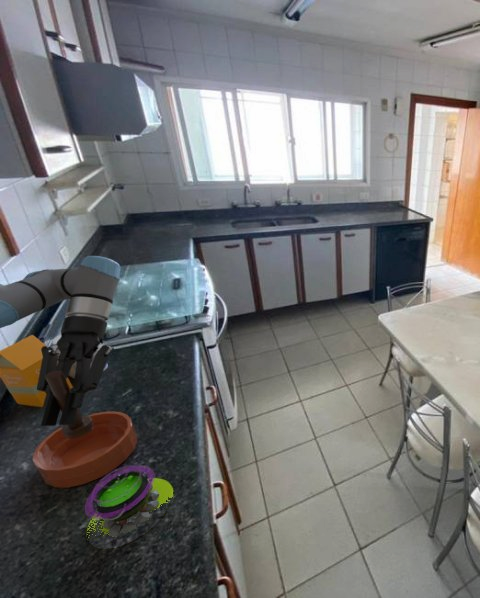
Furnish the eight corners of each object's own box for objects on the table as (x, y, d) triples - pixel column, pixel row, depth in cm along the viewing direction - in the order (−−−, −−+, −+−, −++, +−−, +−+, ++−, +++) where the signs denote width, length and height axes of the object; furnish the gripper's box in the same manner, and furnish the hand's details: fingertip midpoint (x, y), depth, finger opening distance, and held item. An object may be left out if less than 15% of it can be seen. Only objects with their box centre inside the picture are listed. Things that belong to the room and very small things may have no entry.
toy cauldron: (83, 509, 71) (61, 476, 66) (164, 466, 80) (151, 435, 75) (90, 569, 61) (65, 535, 56) (182, 512, 71) (167, 479, 66)
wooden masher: (65, 428, 76) (38, 371, 69) (94, 418, 79) (71, 364, 72) (63, 442, 72) (34, 384, 66) (93, 432, 75) (69, 376, 69)
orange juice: (20, 408, 94) (-18, 351, 85) (51, 387, 102) (20, 333, 93) (45, 410, 94) (11, 353, 85) (75, 389, 102) (46, 335, 93)
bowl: (49, 449, 83) (39, 430, 80) (136, 420, 93) (130, 402, 91) (38, 505, 71) (26, 485, 68) (140, 464, 81) (133, 445, 78)
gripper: (133, 323, 82) (110, 422, 74) (61, 323, 80) (30, 427, 72) (113, 314, 75) (86, 423, 67) (34, 314, 73) (-4, 427, 65)
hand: (57, 424), depth 70 cm, fingers closed on wooden masher, 3 cm apart
